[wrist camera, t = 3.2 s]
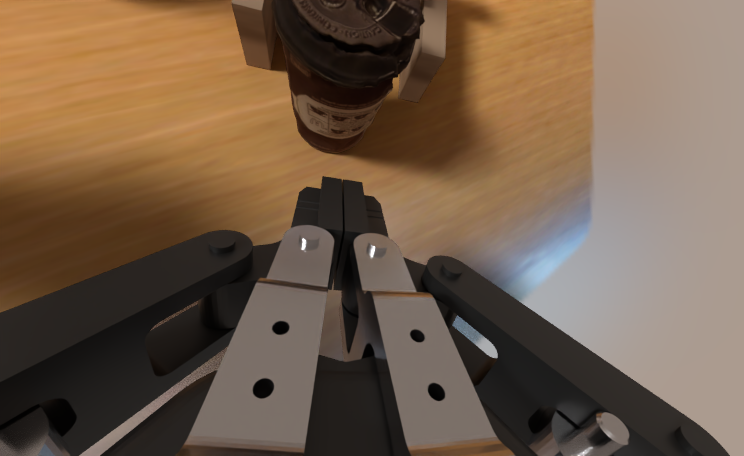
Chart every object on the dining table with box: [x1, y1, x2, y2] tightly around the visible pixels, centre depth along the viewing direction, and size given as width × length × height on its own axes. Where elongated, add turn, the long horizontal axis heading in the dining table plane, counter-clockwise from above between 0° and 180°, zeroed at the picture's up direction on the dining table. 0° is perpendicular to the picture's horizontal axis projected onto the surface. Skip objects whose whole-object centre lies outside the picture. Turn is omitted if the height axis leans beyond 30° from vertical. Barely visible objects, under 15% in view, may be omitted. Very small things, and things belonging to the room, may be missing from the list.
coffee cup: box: [271, 0, 425, 153], centre depth 21 cm, size 9×8×13 cm
